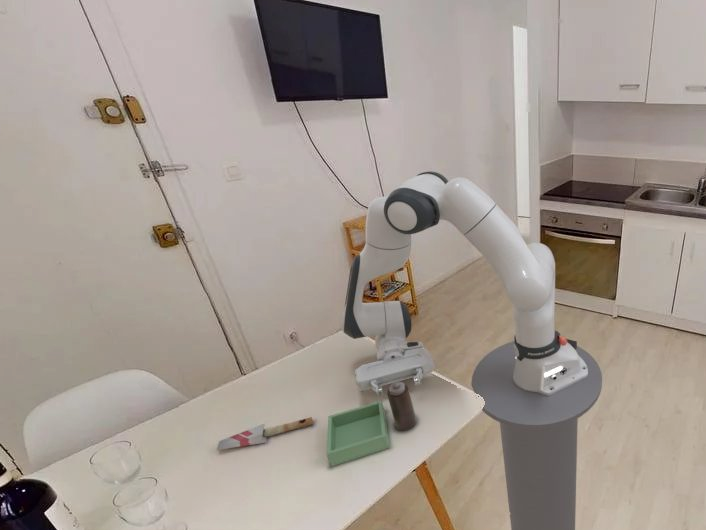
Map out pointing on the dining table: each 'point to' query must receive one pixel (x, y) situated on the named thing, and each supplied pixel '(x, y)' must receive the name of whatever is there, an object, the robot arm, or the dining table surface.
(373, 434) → the tray
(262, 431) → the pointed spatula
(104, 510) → the dining table surface
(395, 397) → the pepper mill
